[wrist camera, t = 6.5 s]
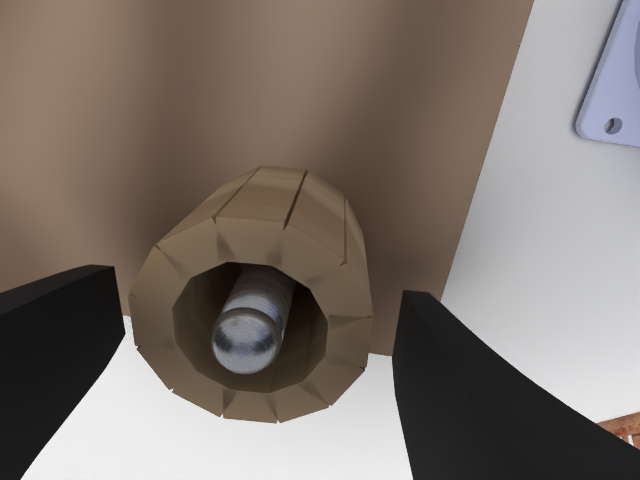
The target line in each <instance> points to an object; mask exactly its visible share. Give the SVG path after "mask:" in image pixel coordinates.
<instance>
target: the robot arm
mask: <svg viewBox="0 0 640 480" xmlns="http://www.w3.org/2000/svg"><path fill="white" fill-rule="evenodd" d="M612 118H613V119H614V127H613V128H612V129H611V130H610V131H609V132H607V133H606V132H605V124H606V123H607V122H608V121H609V120H610V119H612ZM575 127H576V132H577V133H578V134H579V135H580V136H581V137H584V138H587V139H591V140H597V141H604V142H610V143H616V144H623V145H629V146H636V147H640V0H623V2H622V5H621V7H620V10H619V13H618V15H617V18H616V20H615V23H614V25H613V28H612V31H611V33H610V36H609V38H608V41H607V43H606V46H605V49H604V51H603V54H602V56H601V59H600V61H599V64H598V66H597V69H596V72H595V74H594V77H593V79H592V82H591V84H590V87H589V90H588V92H587V95H586V97H585V100H584V102H583V105H582V107H581V110H580V113H579V115H578V118H577V120H576V125H575ZM124 336H125V328H124V322H123V316H122V310H121V303H120V297H119V291H118V285H117V279H116V273H115V267H114V266H106V265H94V264H89V265H85V266H80V267H77V268H73V269H70V270H66V271H63V272H60V273H57V274H54V275H51V276H48V277H45V278H42V279H39V280H36V281H33V282H30V283H27V284H25V285H22V286H19V287H16V288H13V289H10V290H7V291H4V292H2V293H0V480H21V478H22V476H23V475H24V473H25V472H26V471H27V469H28V468H29V467H30V465H31V464H32V462H33V461H34V460H35V458H36V457H37V456H38V454H39V453H40V452H41V450H42V449H43V448H44V446H45V445H46V444H47V443H48V441H49V440H50V439H51V438H52V436H53V435H54V434H55V433H56V431H57V430H58V429H59V427H60V426H61V425H62V424H63V422H64V421H65V420H66V419H67V417H68V416H69V415H70V414H71V412H72V411H73V410H74V409H75V407H76V406H77V405H78V403H79V402H80V401H81V400H82V398H83V397H84V396H85V395H86V393H87V392H88V391H89V389H90V388H91V387H92V386H93V384H94V383H95V382H96V380H97V379H98V378H99V376H100V375H101V374H102V372H103V371H104V370H105V368H106V367H107V365H108V364H109V362H110V360H111V359H112V357H113V355H114V354H115V352H116V350H117V348H118V347H119V345H120V343H121V341H122V339H123V338H124ZM392 365H393V378H394V388H395V397H396V401H397V406H398V411H399V416H400V421H401V425H402V430H403V434H404V439H405V444H406V448H407V453H408V457H409V462H410V467H411V471H412V476H413V480H640V450H639V449H638V448H636V447H634V446H632V445H631V444H629V443H627V442H626V441H624V440H622V439H621V438H619V437H617V436H616V435H614V434H612V433H611V432H609V431H607V430H606V429H604V428H602V427H601V426H599V425H597V424H596V423H594V422H592V421H591V420H589V419H588V418H586V417H584V416H583V415H581V414H580V413H578V412H577V411H575V410H573V409H572V408H570V407H569V406H567V405H566V404H564V403H563V402H562V401H560V400H559V399H557V398H556V397H554V396H553V395H551V394H550V393H549V392H547V391H546V390H544V389H543V388H541V387H540V386H538V385H537V384H536V383H534V382H533V381H532V380H530V379H529V378H527V377H526V376H525V375H523V374H522V373H521V372H519V371H518V370H517V369H516V368H514V367H513V366H512V365H511V364H509V363H508V362H507V361H506V360H504V359H503V358H502V357H501V356H499V355H498V354H497V353H496V352H495V351H493V350H492V349H491V348H490V347H489V346H488V345H486V344H485V343H484V342H483V341H482V340H481V339H479V338H478V337H477V336H476V335H475V334H474V333H473V332H472V331H470V330H469V329H468V328H467V327H466V326H465V325H464V324H463V323H462V322H461V321H460V320H458V319H457V318H456V317H455V316H454V315H453V314H452V313H451V312H450V311H449V310H448V309H447V308H446V307H445V306H444V305H442V304H441V303H440V302H439V301H438V300H437V299H436V298H435V297H434V296H433V295H431V294H430V293H429V292H423V291H410V290H403V293H402V299H401V305H400V311H399V317H398V323H397V329H396V335H395V341H394V347H393V353H392Z"/></svg>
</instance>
